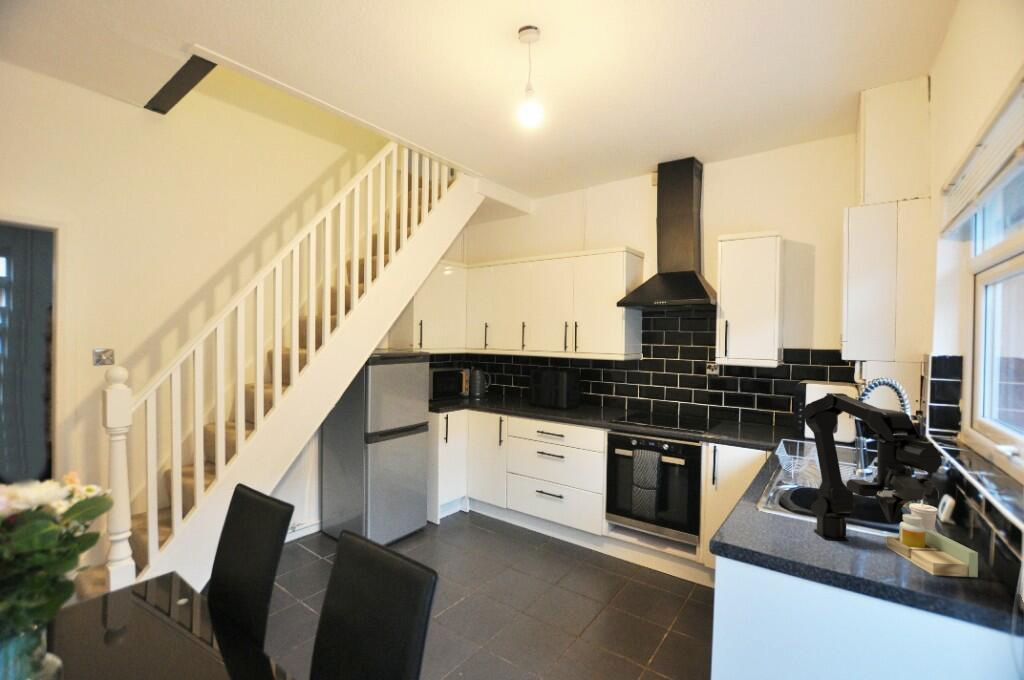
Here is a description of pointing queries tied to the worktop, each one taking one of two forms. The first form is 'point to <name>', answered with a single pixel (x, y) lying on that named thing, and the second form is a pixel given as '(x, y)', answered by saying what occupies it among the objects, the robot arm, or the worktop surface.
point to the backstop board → (954, 550)
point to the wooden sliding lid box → (929, 558)
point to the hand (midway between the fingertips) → (891, 522)
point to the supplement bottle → (912, 531)
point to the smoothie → (925, 514)
